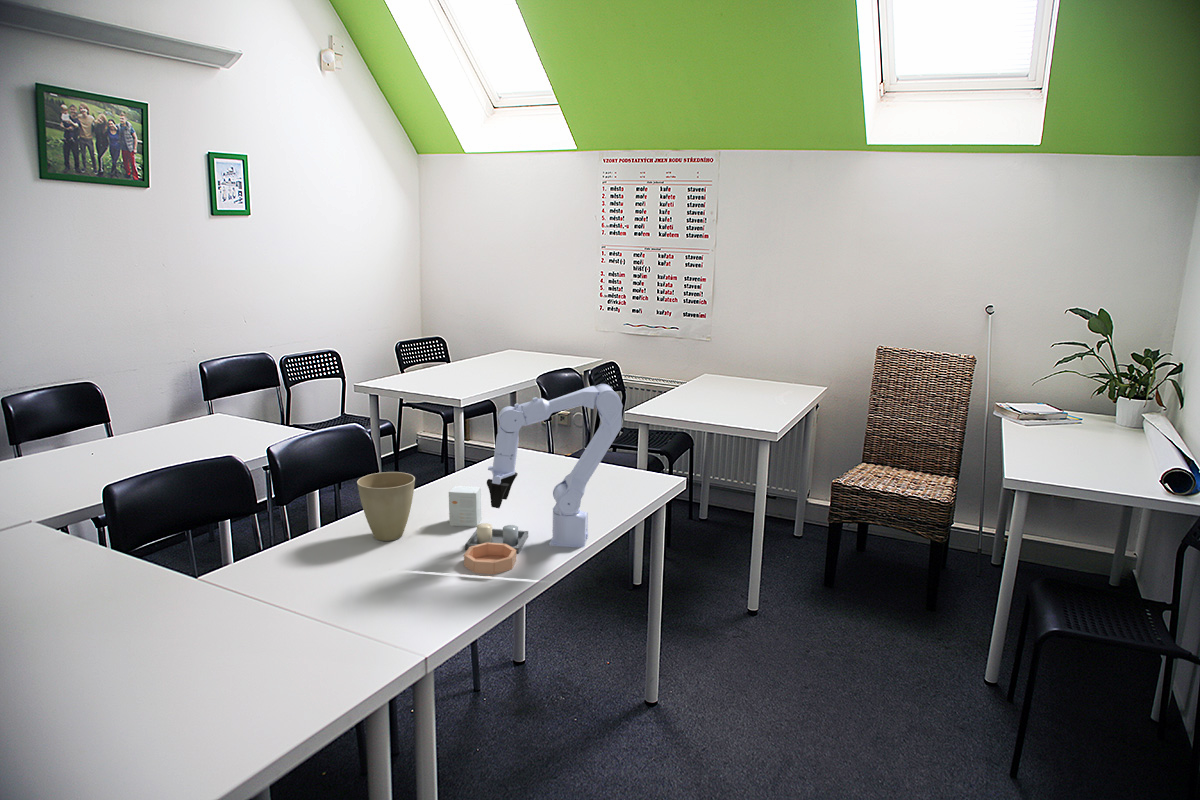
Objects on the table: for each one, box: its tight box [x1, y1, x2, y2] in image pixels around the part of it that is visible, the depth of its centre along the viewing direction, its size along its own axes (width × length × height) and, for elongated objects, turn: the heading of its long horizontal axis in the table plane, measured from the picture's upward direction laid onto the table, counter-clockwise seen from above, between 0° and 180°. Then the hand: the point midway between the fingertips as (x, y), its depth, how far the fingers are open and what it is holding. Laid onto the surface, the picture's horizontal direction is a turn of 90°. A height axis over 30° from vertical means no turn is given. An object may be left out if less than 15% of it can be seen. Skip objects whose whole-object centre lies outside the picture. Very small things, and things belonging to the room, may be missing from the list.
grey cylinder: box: [502, 524, 519, 547], centre depth 205 cm, size 4×4×4 cm
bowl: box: [463, 542, 517, 577], centre depth 193 cm, size 12×12×4 cm
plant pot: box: [356, 471, 416, 542], centre depth 209 cm, size 15×15×16 cm
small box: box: [448, 485, 483, 528], centre depth 219 cm, size 8×6×10 cm
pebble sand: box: [476, 522, 493, 544], centre depth 206 cm, size 4×4×4 cm
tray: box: [464, 528, 529, 555], centre depth 206 cm, size 14×12×2 cm
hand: (499, 503), depth 204 cm, fingers open, 7 cm apart
